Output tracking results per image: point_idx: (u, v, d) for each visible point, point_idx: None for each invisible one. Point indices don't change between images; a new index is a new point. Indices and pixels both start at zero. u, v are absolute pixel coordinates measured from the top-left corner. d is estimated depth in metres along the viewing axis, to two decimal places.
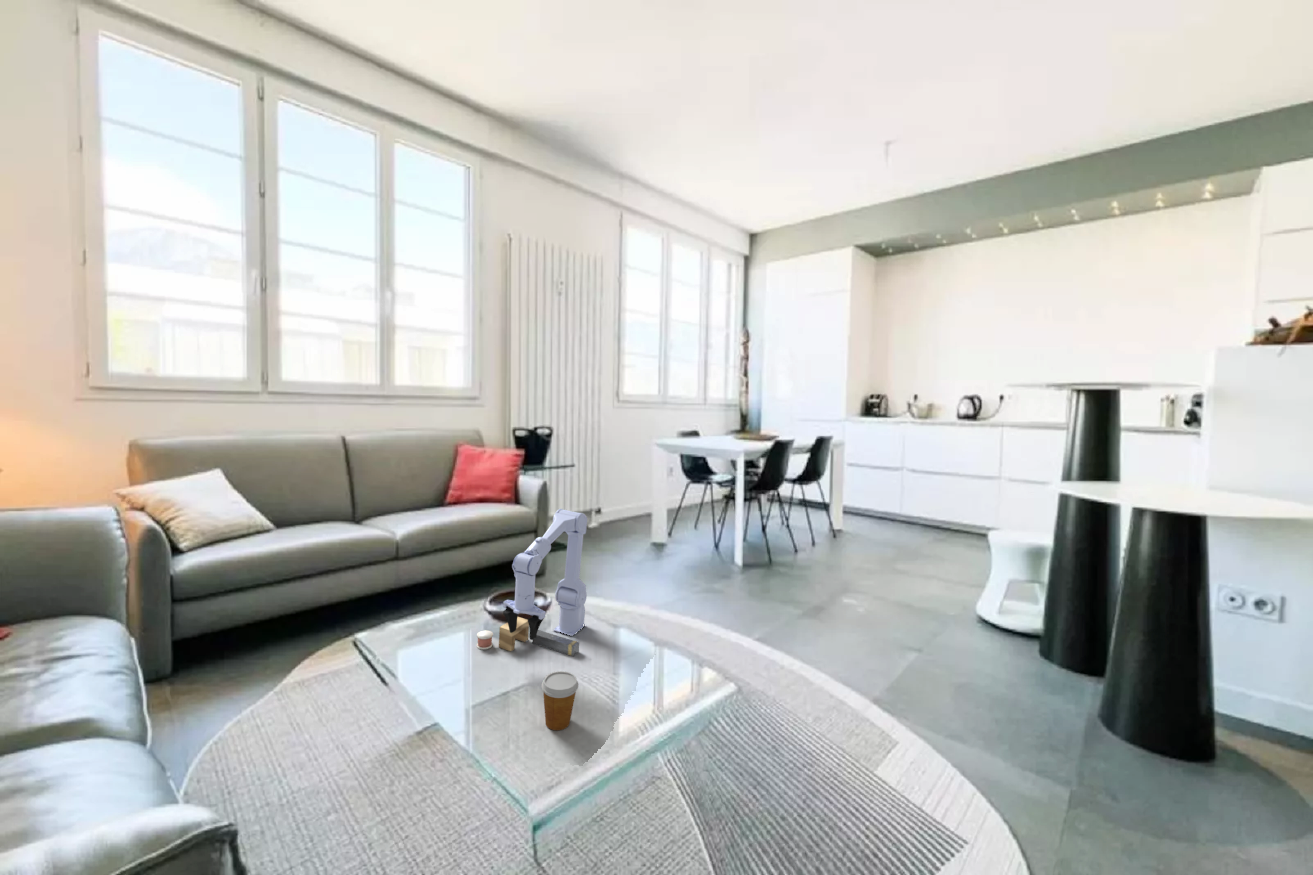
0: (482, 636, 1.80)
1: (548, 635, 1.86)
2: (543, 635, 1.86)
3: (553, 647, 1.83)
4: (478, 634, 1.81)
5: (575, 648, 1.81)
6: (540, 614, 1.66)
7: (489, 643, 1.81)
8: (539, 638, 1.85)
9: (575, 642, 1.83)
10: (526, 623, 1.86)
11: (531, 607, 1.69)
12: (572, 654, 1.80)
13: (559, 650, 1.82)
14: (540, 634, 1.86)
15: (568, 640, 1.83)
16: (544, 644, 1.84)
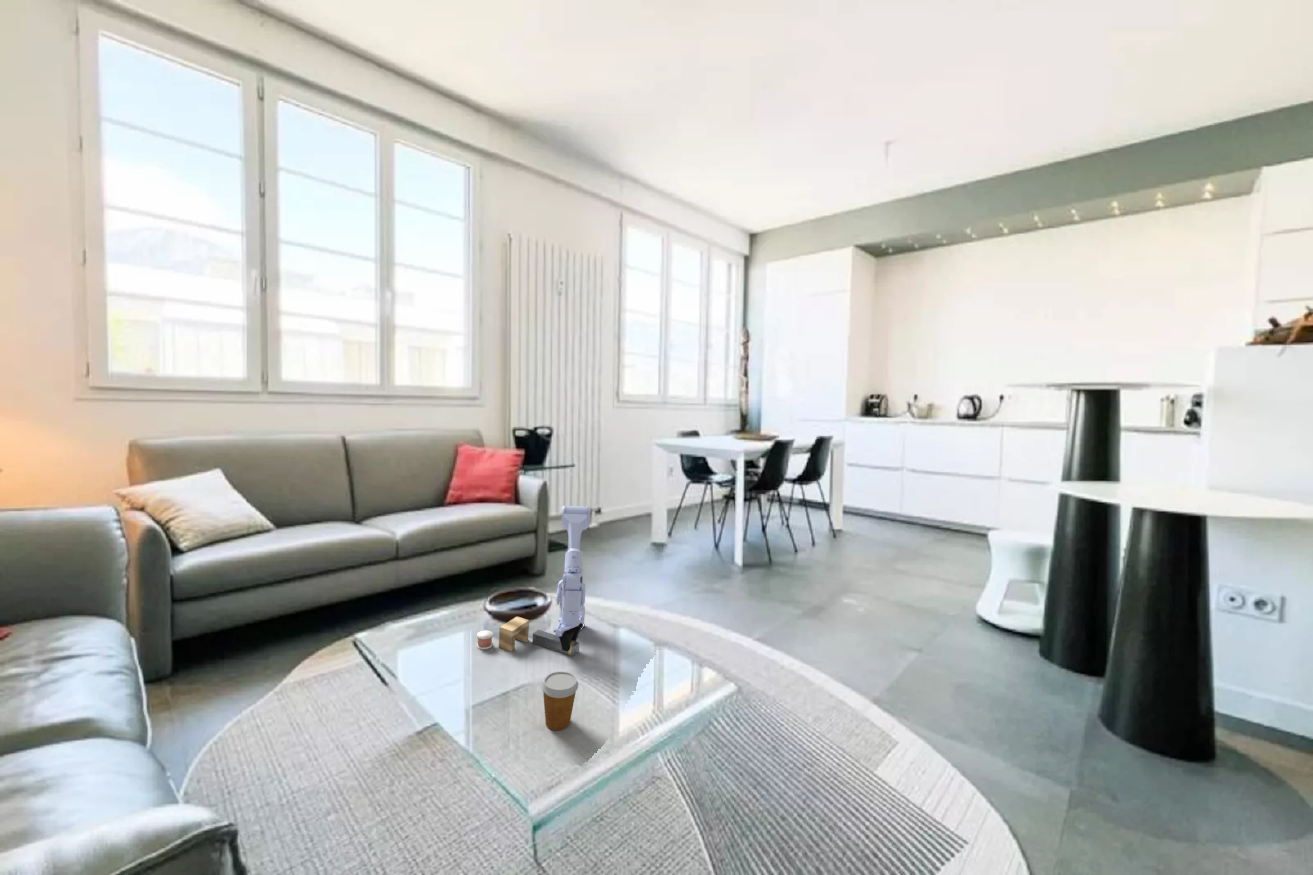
0: (482, 636, 1.80)
1: (548, 635, 1.86)
2: (543, 635, 1.86)
3: (553, 647, 1.83)
4: (478, 634, 1.81)
5: (575, 648, 1.81)
6: None
7: (489, 643, 1.81)
8: (540, 638, 1.85)
9: (575, 641, 1.83)
10: (526, 623, 1.86)
11: (565, 623, 1.79)
12: (572, 654, 1.80)
13: (559, 650, 1.82)
14: (540, 634, 1.86)
15: None
16: (544, 644, 1.84)
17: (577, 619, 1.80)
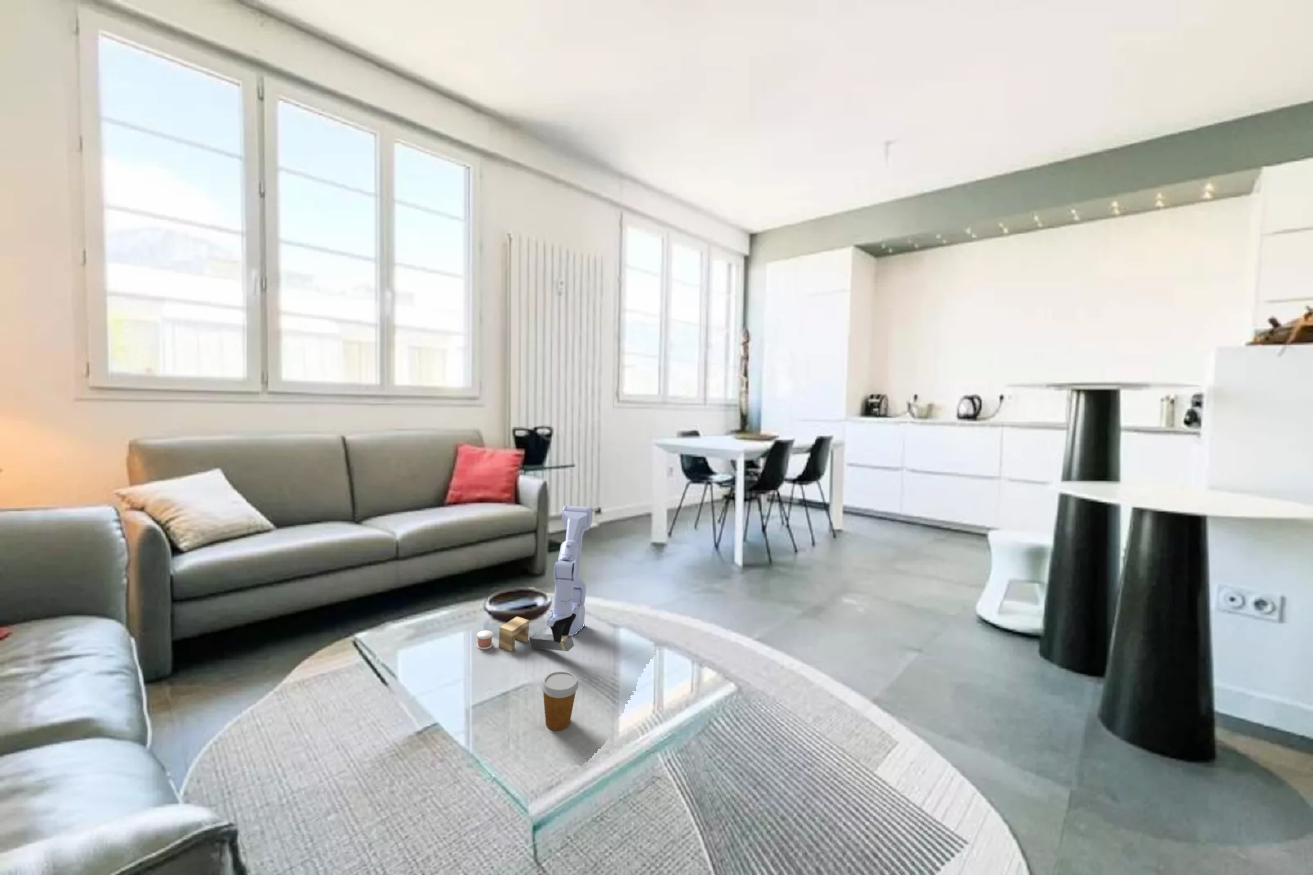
0: (482, 636, 1.80)
1: (543, 636, 1.82)
2: (538, 637, 1.82)
3: (549, 646, 1.79)
4: (478, 634, 1.81)
5: (567, 642, 1.75)
6: None
7: (489, 643, 1.81)
8: (535, 641, 1.82)
9: (567, 636, 1.77)
10: (526, 623, 1.86)
11: (557, 612, 1.74)
12: (566, 649, 1.75)
13: (554, 648, 1.78)
14: (536, 637, 1.82)
15: None
16: (541, 646, 1.81)
17: (569, 609, 1.75)
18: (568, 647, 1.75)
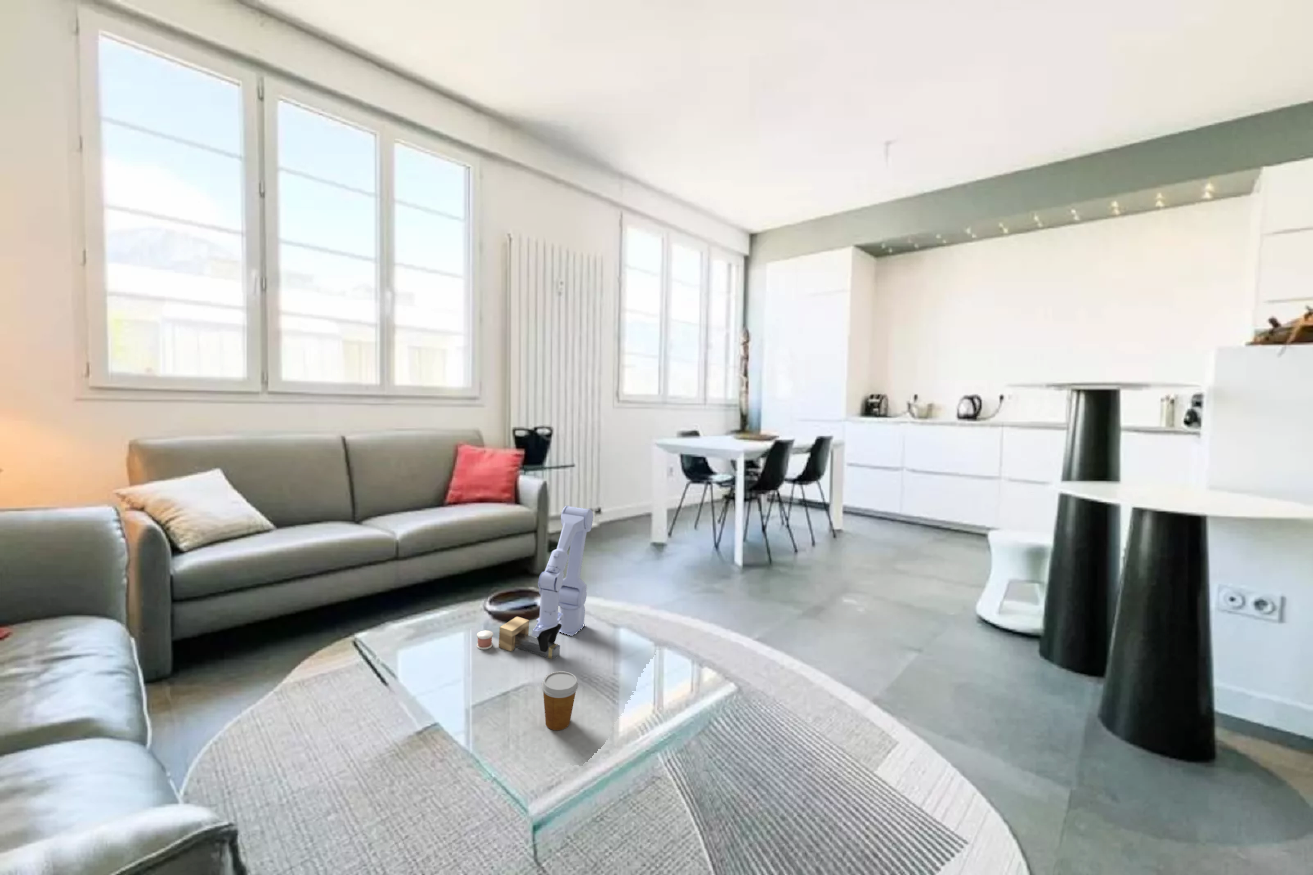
0: (482, 636, 1.80)
1: (528, 638, 1.83)
2: (523, 638, 1.83)
3: (533, 650, 1.80)
4: (478, 634, 1.81)
5: (555, 651, 1.78)
6: None
7: (489, 643, 1.81)
8: (520, 641, 1.82)
9: (555, 644, 1.80)
10: (526, 623, 1.86)
11: (543, 623, 1.76)
12: (552, 657, 1.77)
13: (539, 653, 1.79)
14: (520, 637, 1.83)
15: (549, 643, 1.80)
16: (524, 647, 1.81)
17: (555, 619, 1.77)
18: (555, 656, 1.78)
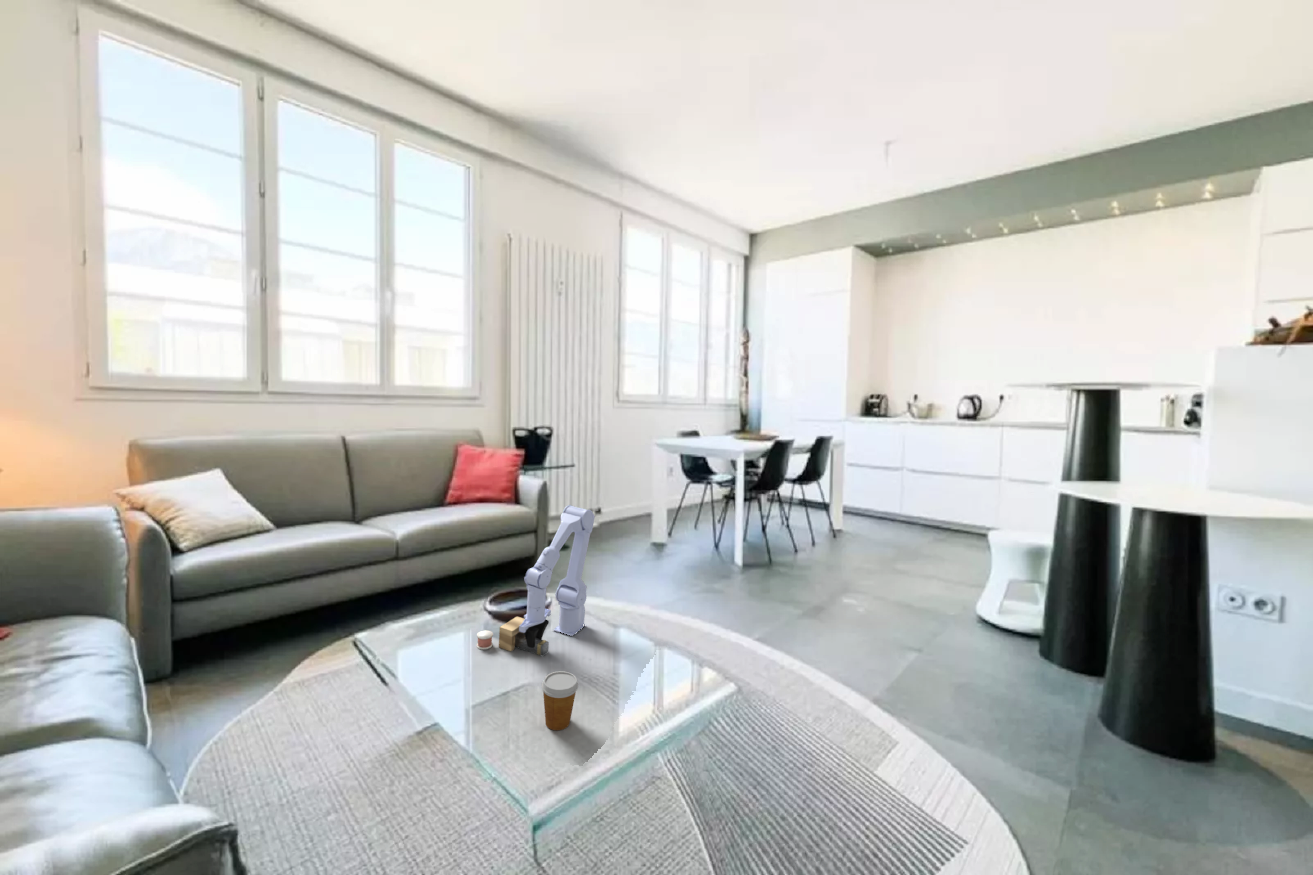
0: (482, 636, 1.80)
1: (517, 634, 1.84)
2: None
3: (522, 646, 1.82)
4: (478, 634, 1.81)
5: (544, 647, 1.79)
6: None
7: (489, 643, 1.81)
8: None
9: (544, 641, 1.81)
10: None
11: (530, 619, 1.78)
12: (541, 654, 1.79)
13: (528, 649, 1.81)
14: None
15: (538, 639, 1.82)
16: None
17: (542, 616, 1.79)
18: (543, 652, 1.79)
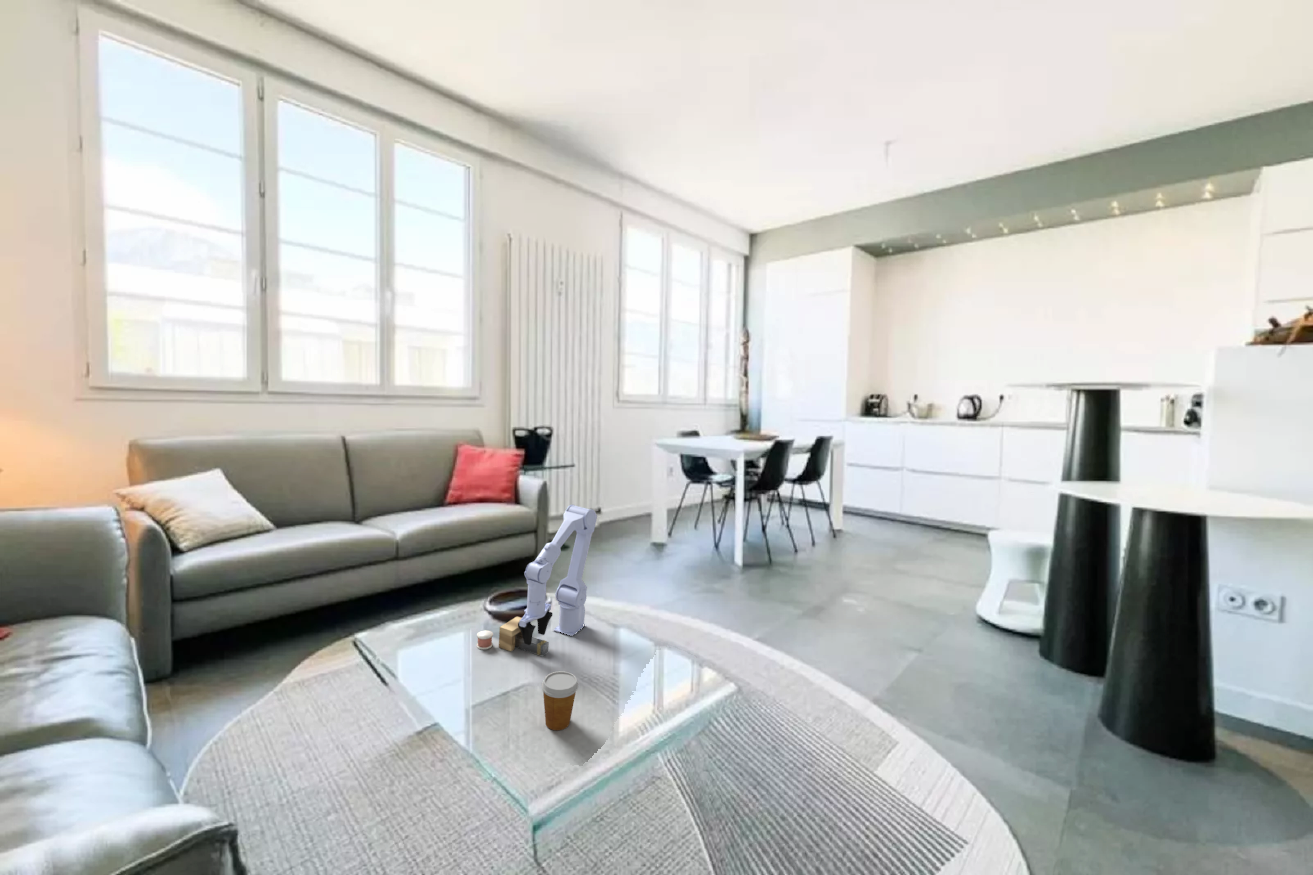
0: (482, 636, 1.80)
1: (517, 635, 1.84)
2: None
3: (522, 647, 1.82)
4: (478, 634, 1.81)
5: (544, 648, 1.79)
6: None
7: (489, 643, 1.81)
8: None
9: (544, 641, 1.81)
10: None
11: (530, 613, 1.78)
12: (541, 654, 1.79)
13: (528, 650, 1.81)
14: None
15: (537, 640, 1.82)
16: None
17: (542, 610, 1.79)
18: (543, 652, 1.79)
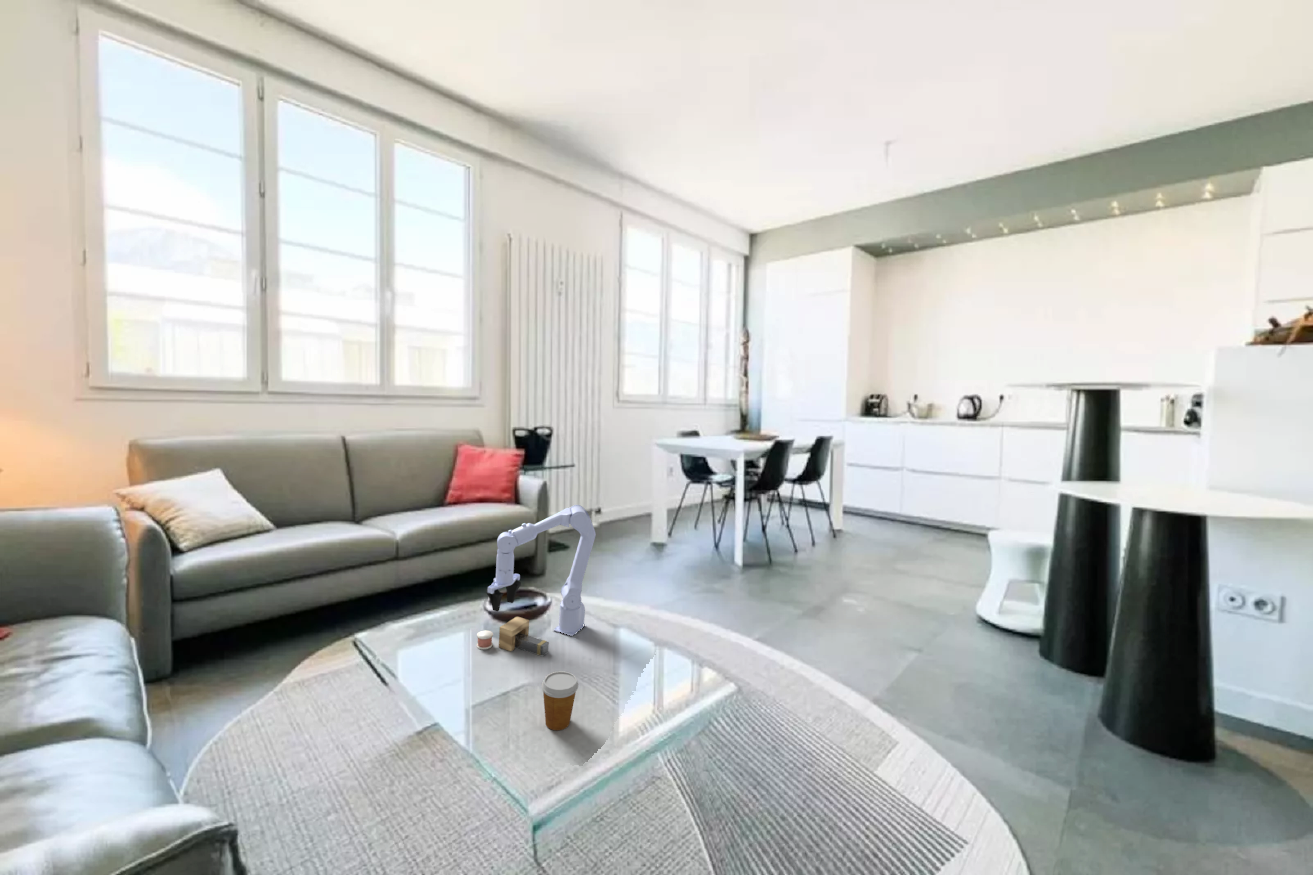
0: (482, 636, 1.80)
1: (517, 635, 1.84)
2: None
3: (522, 647, 1.82)
4: (478, 634, 1.81)
5: (544, 648, 1.79)
6: None
7: (489, 643, 1.81)
8: None
9: (544, 641, 1.81)
10: (526, 623, 1.86)
11: (498, 581, 1.87)
12: (541, 654, 1.79)
13: (528, 650, 1.81)
14: None
15: (537, 640, 1.82)
16: None
17: (510, 578, 1.88)
18: (543, 652, 1.79)
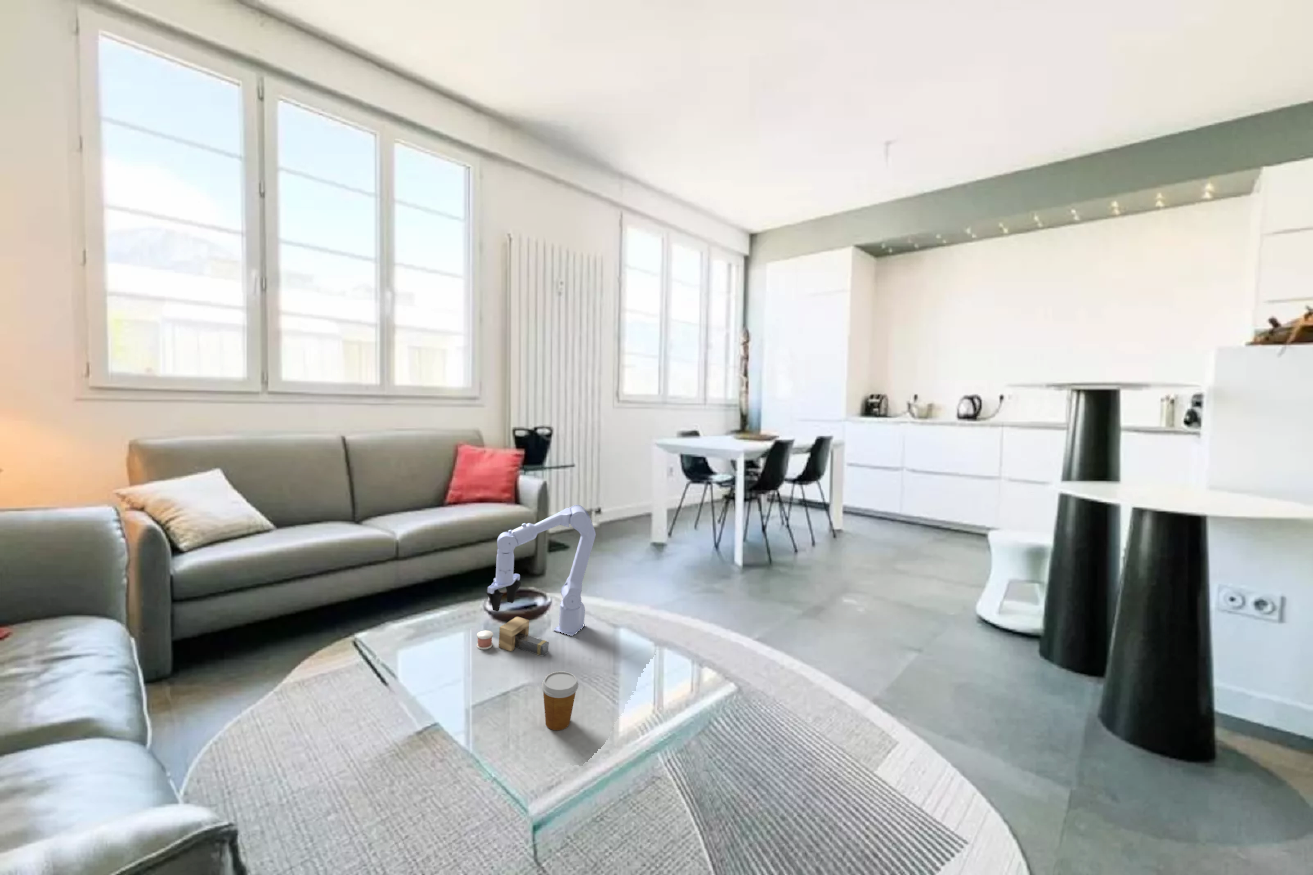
0: (482, 636, 1.80)
1: (517, 635, 1.84)
2: None
3: (522, 647, 1.82)
4: (478, 634, 1.81)
5: (544, 648, 1.79)
6: None
7: (489, 643, 1.81)
8: None
9: (544, 641, 1.81)
10: (526, 623, 1.86)
11: (498, 581, 1.87)
12: (541, 654, 1.79)
13: (528, 650, 1.81)
14: None
15: (537, 640, 1.82)
16: None
17: (510, 578, 1.88)
18: (543, 652, 1.79)
